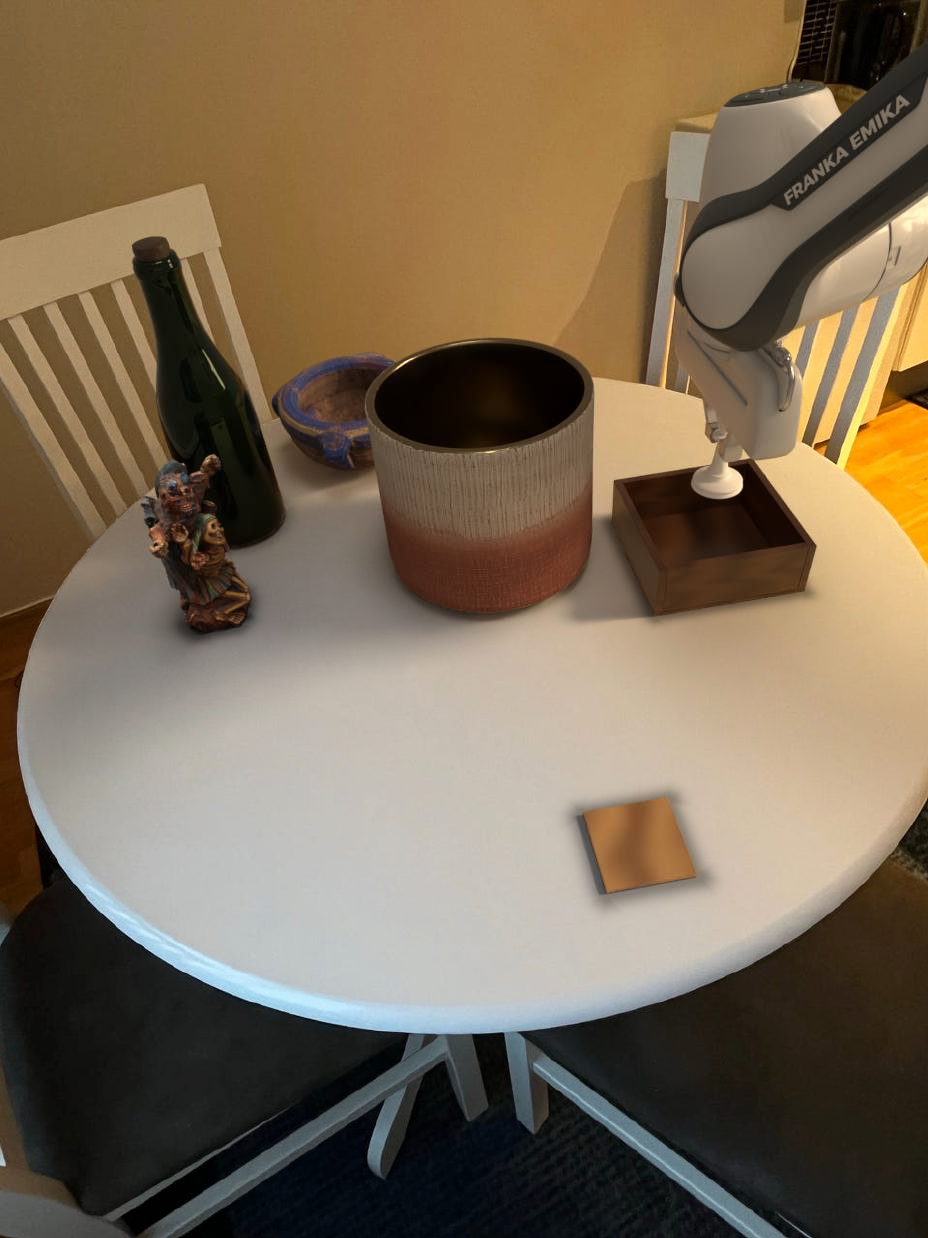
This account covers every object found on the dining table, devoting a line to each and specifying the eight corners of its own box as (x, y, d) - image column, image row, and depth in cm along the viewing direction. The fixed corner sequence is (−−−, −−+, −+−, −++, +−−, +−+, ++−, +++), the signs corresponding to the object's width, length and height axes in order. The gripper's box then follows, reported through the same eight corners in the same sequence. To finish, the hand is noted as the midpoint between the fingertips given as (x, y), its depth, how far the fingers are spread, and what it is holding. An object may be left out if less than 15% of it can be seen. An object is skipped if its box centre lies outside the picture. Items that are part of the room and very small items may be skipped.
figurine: (284, 628, 86) (237, 485, 74) (198, 661, 84) (135, 519, 71) (255, 570, 93) (208, 431, 81) (175, 599, 91) (114, 460, 78)
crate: (744, 501, 95) (752, 457, 91) (804, 590, 84) (817, 545, 80) (611, 522, 94) (613, 479, 90) (654, 616, 83) (659, 571, 79)
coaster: (666, 799, 68) (667, 796, 68) (696, 876, 63) (697, 874, 63) (583, 814, 68) (583, 811, 67) (606, 893, 63) (606, 891, 62)
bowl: (324, 512, 100) (306, 440, 93) (273, 445, 112) (254, 377, 105) (454, 462, 106) (446, 391, 99) (392, 403, 117) (382, 336, 110)
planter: (629, 579, 87) (642, 410, 73) (434, 650, 82) (408, 482, 68) (536, 474, 102) (532, 316, 88) (366, 528, 97) (333, 370, 83)
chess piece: (709, 464, 85) (721, 374, 78) (752, 482, 82) (769, 390, 75) (681, 486, 83) (691, 396, 76) (724, 505, 80) (738, 413, 73)
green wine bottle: (234, 489, 105) (142, 216, 82) (303, 505, 102) (227, 223, 79) (182, 539, 99) (66, 257, 76) (254, 558, 95) (155, 267, 72)
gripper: (836, 356, 63) (801, 505, 72) (733, 258, 78) (715, 392, 87) (755, 369, 62) (731, 516, 72) (667, 268, 77) (656, 401, 87)
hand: (722, 447), depth 80 cm, fingers closed on chess piece
